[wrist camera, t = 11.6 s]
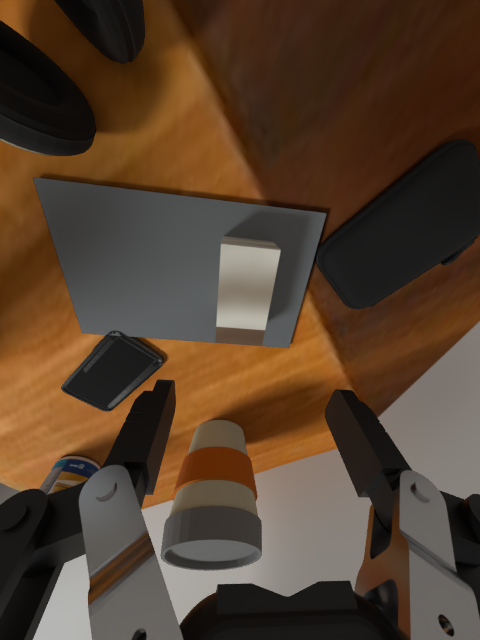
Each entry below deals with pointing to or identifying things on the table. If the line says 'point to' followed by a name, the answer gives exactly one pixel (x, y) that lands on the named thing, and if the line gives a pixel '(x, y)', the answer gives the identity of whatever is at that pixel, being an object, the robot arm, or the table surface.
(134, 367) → the phone
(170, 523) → the reusable coffee cup
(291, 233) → the mat
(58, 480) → the beverage bottle
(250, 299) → the tall grey rectangular block
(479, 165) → the carrying case or bag
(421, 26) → the table surface
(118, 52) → the headphones
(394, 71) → the table surface
